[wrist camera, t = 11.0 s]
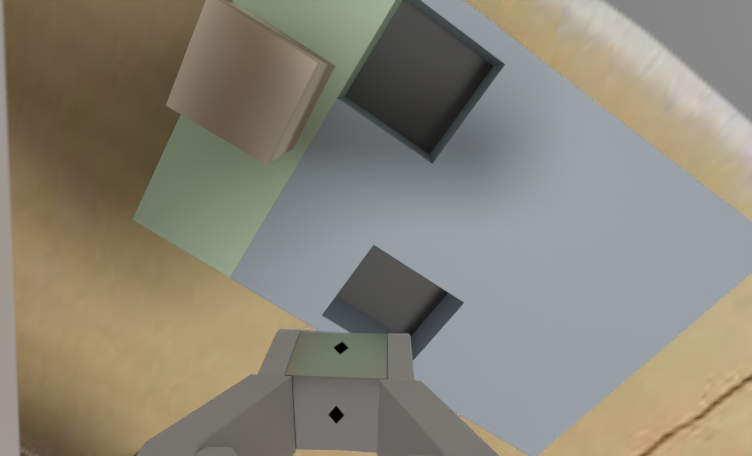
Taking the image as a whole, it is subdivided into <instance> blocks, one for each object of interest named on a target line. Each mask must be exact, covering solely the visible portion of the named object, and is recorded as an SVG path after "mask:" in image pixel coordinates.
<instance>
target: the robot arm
mask: <svg viewBox="0 0 752 456" xmlns="http://www.w3.org/2000/svg"><path fill="white" fill-rule="evenodd" d="M296 449H310V450H347V451H361V452H376V453H377V455H378V456H499V455H498V454H497V453H496V452H495V451H494V450H493V449H491V448H490V447H489V446H488V445H487V444H486V443H485V442H484V441H483V440H482V439H481V438H480V437H479V436H478V435H477V434H476V433H475V432H474V431H473V430H472V429H471V428H470V427H469V426H468V425H467V424H466V423H465V422H463V421H462V420H461V419H460V418H459V417H458V416H457V415H456V414H455V413H454V412H453V411H452V410H451V409H450V408H449V407H448V406H447V405H446V404H445V403H444V402H443V401H442V400H441V399H440V398H439V397H438V396H436V395H435V394H434V393H433V392H432V391H431V390H430V389H429V388H428V387H427V386H426V385H425V384H424V383H423V382H422V381H415V379H414V368H413V358H412V347H411V337H410V334H409V333H388V334H379V333H345V332H329V331H311V330H302V331H301V330H290V329H280V330H279V331H278V332H277V333H276V335H275V337H274V340H273V342H272V344H271V346H270V348H269V351H268V353H267V355H266V357H265V359H264V361H263V364H262V366H261V368H260V370H259V372H258V375H249V376H248V377H246V378H245V379H243V380H242V381H240V382H239V383H237V384H235V385H234V386H232V387H231V388H229V389H228V390H226V391H224V392H223V393H221V394H220V395H218V396H217V397H215V398H214V399H212V400H210V401H209V402H207V403H206V404H204V405H203V406H201V407H200V408H198V409H196V410H195V411H193V412H192V413H190V414H189V415H187V416H185V417H184V418H182V419H181V420H179V421H178V422H176V423H175V424H173V425H171V426H170V427H168V428H167V429H165V430H164V431H162V432H161V433H159V434H157V435H156V436H154V437H153V438H151V439H150V440H148V441H146V442H145V444H144V445H143V447H142V448H141V450H140V451H139V453H138V454H137V456H292V455H293V454H294V453H295V452H296Z"/></svg>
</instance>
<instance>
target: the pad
mask: <svg viewBox="0 0 752 456" xmlns="http://www.w3.org/2000/svg"><path fill="white" fill-rule="evenodd" d="M402 1H403V0H233V2H232V4H234V5H236V6H239V7H241V8H244V9H246V10H248V11H250V12H252V13H253V14H255V15H257V16H258V17H260V18H261V19H263V20H264V21H266V22H268V23H269V24H271V25H272V26H274V27H275V28H277V29H279V30H280V31H282V32H283V33H285V34H286V35H288V36H290V37H291V38H293V39H294V40H296V41H298V42H299V43H301V44H302V45H304V46H305V47H307V48H309V49H310V50H312V51H313V52H315V53H316V54H318V55H320V56H321V57H323V58H324V59H326V60H327V61H329V62H331V63H332V64H334V65H335V66H336V67H335V69H334V70H333V72H332V74H331V76H330V78H329V80H328V82H327V84H326V86H325V88H324V90H323V92H322V94H321V96H320V97H319V99H318V101H317V103H316V105H315V107H314V109H313V111H312V113H311V115H310V117H309V119H308V121H307V123H306V124H305V126H304V128H303V130H302V132H301V134H300V136H299V138H298V140H297V142H296V144H295V146H294V148H293V149H291V150H290V151H288V152H287V153H285V154H283V155H282V156H280V157H279V158H277V159H275V160H274V161H272V162H271V163H269V164H267V165H266V164H264V163H263V162H261V161H259V160H258V159H256V158H254V157H252V156H251V155H249V154H247V153H246V152H244V151H242V150H241V149H239V148H237V147H235V146H234V145H232V144H230V143H229V142H227V141H225V140H223V139H222V138H220V137H218V136H217V135H215V134H213V133H212V132H210V131H208V130H206V129H205V128H203V127H201V126H200V125H198V124H196V123H195V122H193V121H191V120H189V119H188V118H186V117H184V116H183V115H180V117H179V119H178V121H177V123H176V126H175V128H174V130H173V132H172V134H171V136H170V139H169V141H168V143H167V145H166V147H165V150H164V152H163V154H162V156H161V158H160V160H159V163H158V165H157V167H156V169H155V171H154V173H153V176H152V178H151V180H150V182H149V184H148V187H147V189H146V191H145V193H144V195H143V197H142V200H141V202H140V204H139V206H138V208H137V210H136V213H135V215H134V217H133V219H132V220H133V221H135V222H137V223H138V224H140V225H142V226H143V227H145V228H147V229H148V230H150V231H152V232H153V233H155V234H157V235H158V236H160V237H162V238H163V239H165V240H167V241H168V242H170V243H172V244H174V245H175V246H177V247H179V248H180V249H182V250H184V251H185V252H187V253H189V254H190V255H192V256H194V257H195V258H197V259H199V260H200V261H202V262H204V263H205V264H207V265H209V266H211V267H212V268H214V269H216V270H217V271H219V272H221V273H222V274H224V275H226V276H227V277H229V278H230V276H231V275H232V273H233V271H234V270H235V268H236V266H237V265H238V263H239V261H240V260H241V258H242V256H243V255H244V253H245V251H246V250H247V248H248V246H249V245H250V243H251V241H252V240H253V238H254V236H255V235H256V233H257V231H258V230H259V228H260V226H261V225H262V223H263V221H264V220H265V218H266V216H267V215H268V213H269V211H270V210H271V208H272V206H273V205H274V203H275V201H276V199H277V198H278V196H279V194H280V193H281V191H282V189H283V188H284V186H285V184H286V183H287V181H288V179H289V178H290V176H291V174H292V173H293V171H294V169H295V168H296V166H297V164H298V163H299V161H300V159H301V158H302V156H303V154H304V153H305V151H306V149H307V148H308V146H309V144H310V143H311V141H312V139H313V138H314V136H315V134H316V133H317V131H318V129H319V128H320V126H321V124H322V123H323V121H324V119H325V118H326V116H327V114H328V113H329V111H330V109H331V107H332V106H333V104H334V102H335V101H336V99H337V98H339V97H342V96H345V95H346V93H347V92H348V90H349V88H350V87H351V85H352V83H353V82H354V80H355V78H356V77H357V75H358V74H359V72H360V70H361V69H362V67H363V65H364V64H365V62H366V60H367V59H368V57H369V55H370V54H371V52H372V50H373V49H374V47H375V45H376V44H377V42H378V40H379V39H380V37H381V35H382V34H383V32H384V30H385V29H386V27H387V26H388V24H389V22H390V21H391V19H392V17H393V16H394V14H395V12H396V11H397V9H398V7H399V6H400V4H401V2H402Z"/></svg>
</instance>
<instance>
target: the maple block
mask: <svg viewBox="0 0 752 456" xmlns="http://www.w3.org/2000/svg"><path fill="white" fill-rule="evenodd" d="M335 67H336V66H335V65H334V64H332V63H331V62H329V61H327V60H326V59H324V58H323V57H321V56H320V55H318V54H316V53H315V52H313V51H312V50H310V49H309V48H307V47H305V46H304V45H302V44H301V43H299V42H298V41H296V40H294V39H293V38H291V37H290V36H288V35H286V34H285V33H283V32H282V31H280V30H279V29H277V28H275V27H274V26H272V25H271V24H269V23H268V22H266V21H264V20H263V19H261V18H260V17H258V16H257V15H255V14H253V13H252V12H250V11H248V10H246V9H244V8H241V7H239V6H236V5H234V4H232V3H229V2H227V1H225V0H206V1H205V3H204V6H203V9H202V11H201V14H200V16H199V19H198V22H197V24H196V27H195V30H194V32H193V35H192V38H191V40H190V43H189V45H188V48H187V51H186V53H185V56H184V59H183V61H182V64H181V66H180V69H179V72H178V74H177V77H176V80H175V82H174V85H173V88H172V90H171V93H170V95H169V98H168V101H167V103H166V106H167V107H169V108H171V109H172V110H174V111H176V112H178V113H179V114H181V115H183V116H184V117H186V118H188V119H189V120H191V121H193V122H195V123H196V124H198V125H200V126H201V127H203V128H205V129H206V130H208V131H210V132H212V133H213V134H215V135H217V136H218V137H220V138H222V139H223V140H225V141H227V142H229V143H230V144H232V145H234V146H235V147H237V148H239V149H241V150H242V151H244V152H246V153H247V154H249V155H251V156H252V157H254V158H256V159H258V160H259V161H261V162H263V163H264V164H266V165H267V164H269V163H271V162H272V161H274V160H275V159H277V158H279V157H280V156H282V155H283V154H285V153H287V152H288V151H290V150H291V149H293V148H294V146H295V144H296V142H297V140H298V138H299V136H300V134H301V132H302V130H303V128H304V126H305V124H306V123H307V121H308V119H309V117H310V115H311V113H312V111H313V109H314V107H315V105H316V103H317V101H318V99H319V97H320V96H321V94H322V92H323V90H324V88H325V86H326V84H327V82H328V80H329V78H330V76H331V74H332V72H333V70H334V69H335Z"/></svg>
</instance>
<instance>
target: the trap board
mask: <svg viewBox="0 0 752 456" xmlns="http://www.w3.org/2000/svg"><path fill="white" fill-rule="evenodd" d="M751 273H752V222H751V221H750V220H748V219H747V218H746V217H745V216H743V215H742V214H741V213H739V212H738V211H737V210H735V209H734V208H733V207H732V206H730V205H729V204H728V203H726V202H725V201H724V200H722V199H721V198H720V197H719V196H717V195H716V194H715V193H713V192H712V191H711V190H710V189H708V188H707V187H706V186H704V185H703V184H702V183H700V182H699V181H698V180H697V179H695V178H694V177H693V176H691V175H690V174H689V173H687V172H686V171H685V170H684V169H682V168H681V167H680V166H678V165H677V164H676V163H674V162H673V161H672V160H671V159H669V158H668V157H667V156H665V155H664V154H663V153H662V152H660V151H659V150H658V149H656V148H655V147H654V146H652V145H651V144H650V143H649V142H647V141H646V140H645V139H643V138H642V137H641V136H639V135H638V134H637V133H636V132H634V131H633V130H632V129H630V128H629V127H628V126H627V125H625V124H624V123H623V122H621V121H620V120H619V119H617V118H616V117H615V116H614V115H612V114H611V113H610V112H608V111H607V110H606V109H604V108H603V107H602V106H601V105H599V104H598V103H597V102H595V101H594V100H593V99H591V98H590V97H589V96H588V95H586V94H585V93H584V92H582V91H581V90H580V89H579V88H577V87H576V86H575V85H573V84H572V83H571V82H569V81H568V80H567V79H566V78H564V77H563V76H562V75H560V74H559V73H558V72H556V71H555V70H554V69H553V68H551V67H550V66H549V65H547V64H546V63H545V62H544V61H542V60H541V59H540V58H538V57H537V56H536V55H534V54H533V53H532V52H531V51H529V50H528V49H527V48H525V47H524V46H523V45H521V44H520V43H519V42H518V41H516V40H515V39H514V38H512V37H511V36H510V35H508V34H507V33H506V32H505V31H503V30H502V29H501V28H499V27H498V26H497V25H496V24H494V23H493V22H492V21H490V20H489V19H488V18H486V17H485V16H484V15H483V14H481V13H480V12H479V11H477V10H476V9H475V8H473V7H472V6H471V5H470V4H468V3H467V2H466V1H464V0H403V1H402V2H401V4H400V6H399V7H398V9H397V11H396V12H395V14H394V16H393V17H392V19H391V21H390V22H389V24H388V26H387V27H386V29H385V30H384V32H383V34H382V35H381V37H380V39H379V40H378V42H377V44H376V45H375V47H374V49H373V50H372V52H371V54H370V55H369V57H368V59H367V60H366V62H365V64H364V65H363V67H362V69H361V70H360V72H359V74H358V75H357V77H356V78H355V80H354V82H353V83H352V85H351V87H350V88H349V90H348V92H347V93H346V95H345V96H342V97H339V98H337V99H336V101H335V102H334V104H333V106H332V107H331V109H330V111H329V113H328V114H327V116H326V118H325V119H324V121H323V123H322V124H321V126H320V128H319V129H318V131H317V133H316V134H315V136H314V138H313V139H312V141H311V143H310V144H309V146H308V148H307V149H306V151H305V153H304V154H303V156H302V158H301V159H300V161H299V163H298V164H297V166H296V168H295V169H294V171H293V173H292V174H291V176H290V178H289V179H288V181H287V183H286V184H285V186H284V188H283V189H282V191H281V193H280V194H279V196H278V198H277V199H276V201H275V203H274V205H273V206H272V208H271V210H270V211H269V213H268V215H267V216H266V218H265V220H264V221H263V223H262V225H261V226H260V228H259V230H258V231H257V233H256V235H255V236H254V238H253V240H252V241H251V243H250V245H249V246H248V248H247V250H246V251H245V253H244V255H243V256H242V258H241V260H240V261H239V263H238V265H237V266H236V268H235V270H234V271H233V273H232V275H231V276H230V278H231V279H232V280H234V281H236V282H237V283H239V284H241V285H242V286H244V287H246V288H247V289H249V290H251V291H253V292H254V293H256V294H258V295H259V296H261V297H263V298H264V299H266V300H268V301H269V302H271V303H273V304H274V305H276V306H278V307H279V308H281V309H283V310H284V311H286V312H288V313H290V314H291V315H293V316H295V317H296V318H298V319H300V320H301V321H303V322H305V323H306V324H308V325H310V326H311V327H313V328H315V329H316V330H318V331H329V332H345V333H379V334H388V333H409V334H410V337H411V347H412V358H413V368H414V379H415V381H422V382H423V383H424V384H425V385H426V386H427V387H428V388H429V389H430V390H431V391H432V392H433V393H434V394H435V395H436V396H438V397H439V398H440V399H441V400H442V401H443V402H444V403H445V404H446V405H447V406H448V407H449V408H450V409H451V410H453V411H454V412H456V413H458V414H459V415H461V416H463V417H464V418H466V419H468V420H469V421H471V422H473V423H475V424H476V425H478V426H480V427H481V428H483V429H485V430H486V431H488V432H490V433H491V434H493V435H495V436H496V437H498V438H500V439H501V440H503V441H505V442H506V443H508V444H510V445H512V446H513V447H515V448H517V449H518V450H520V451H522V452H523V453H525V454H527V455H528V456H537V455H538V454H540V453H541V452H542V451H543V450H544V449H546V448H547V447H548V446H549V445H550V444H551V443H553V442H554V441H555V440H556V439H557V438H558V437H560V436H561V435H562V434H563V433H564V432H565V431H567V430H568V429H569V428H570V427H571V426H573V425H574V424H575V423H576V422H577V421H578V420H580V419H581V418H582V417H583V416H584V415H585V414H587V413H588V412H589V411H590V410H591V409H592V408H594V407H595V406H596V405H597V404H598V403H600V402H601V401H602V400H603V399H604V398H605V397H607V396H608V395H609V394H610V393H611V392H612V391H614V390H615V389H616V388H617V387H618V386H619V385H621V384H622V383H623V382H624V381H625V380H626V379H628V378H629V377H630V376H631V375H632V374H634V373H635V372H636V371H637V370H638V369H639V368H641V367H642V366H643V365H644V364H645V363H646V362H648V361H649V360H650V359H651V358H652V357H653V356H655V355H656V354H657V353H658V352H659V351H661V350H662V349H663V348H664V347H665V346H666V345H668V344H669V343H670V342H671V341H672V340H673V339H675V338H676V337H677V336H678V335H679V334H680V333H682V332H683V331H684V330H685V329H686V328H688V327H689V326H690V325H691V324H692V323H693V322H695V321H696V320H697V319H698V318H699V317H700V316H702V315H703V314H704V313H705V312H706V311H707V310H709V309H710V308H711V307H712V306H713V305H715V304H716V303H717V302H718V301H719V300H720V299H722V298H723V297H724V296H725V295H726V294H727V293H729V292H730V291H731V290H732V289H733V288H734V287H736V286H737V285H738V284H739V283H740V282H741V281H743V280H744V279H745V278H746V277H747V276H749V275H750V274H751Z"/></svg>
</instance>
